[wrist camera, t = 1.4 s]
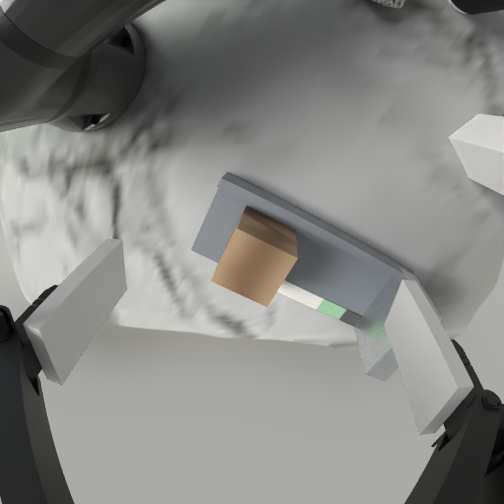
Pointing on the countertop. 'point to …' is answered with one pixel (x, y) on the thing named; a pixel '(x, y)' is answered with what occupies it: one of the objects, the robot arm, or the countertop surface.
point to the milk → (482, 150)
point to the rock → (390, 3)
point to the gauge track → (304, 252)
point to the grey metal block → (381, 330)
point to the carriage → (257, 257)
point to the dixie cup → (477, 6)
